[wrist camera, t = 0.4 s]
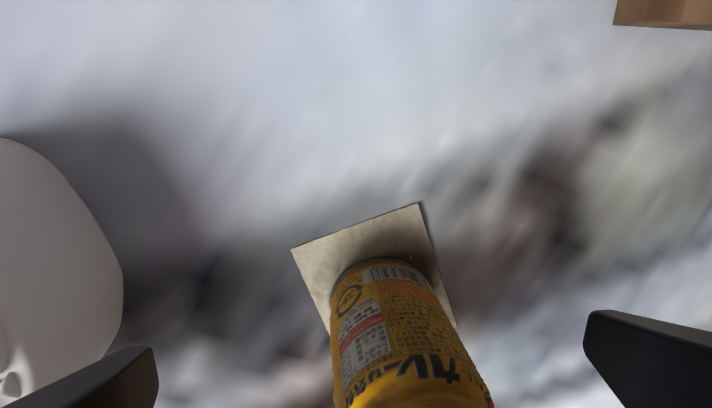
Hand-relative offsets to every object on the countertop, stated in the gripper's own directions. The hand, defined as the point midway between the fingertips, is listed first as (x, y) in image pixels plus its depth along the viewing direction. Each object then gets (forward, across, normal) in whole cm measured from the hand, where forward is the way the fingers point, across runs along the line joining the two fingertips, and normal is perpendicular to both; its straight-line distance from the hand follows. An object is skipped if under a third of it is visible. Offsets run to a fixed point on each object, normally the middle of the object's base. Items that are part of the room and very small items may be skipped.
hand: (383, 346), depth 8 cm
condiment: (+14, +2, -7) cm, 15 cm away
